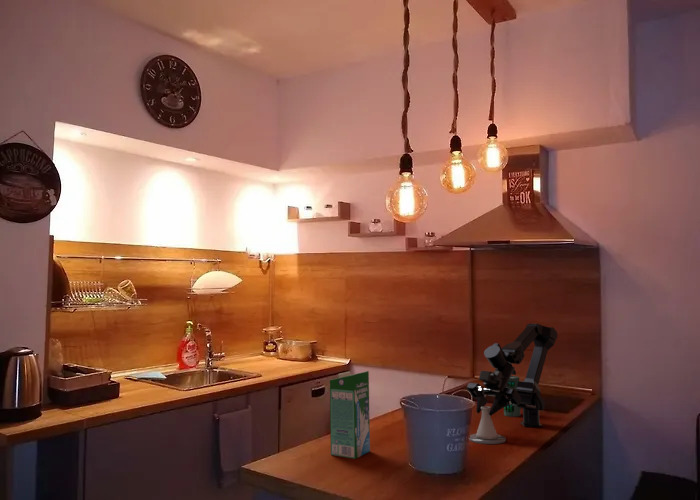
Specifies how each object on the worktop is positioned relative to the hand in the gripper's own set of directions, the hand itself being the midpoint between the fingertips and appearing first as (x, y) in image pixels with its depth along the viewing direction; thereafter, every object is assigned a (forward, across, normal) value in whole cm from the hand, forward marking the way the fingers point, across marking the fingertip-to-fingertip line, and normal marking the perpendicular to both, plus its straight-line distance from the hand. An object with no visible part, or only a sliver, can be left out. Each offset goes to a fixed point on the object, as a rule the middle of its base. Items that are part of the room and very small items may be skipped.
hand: (483, 413), depth 184 cm
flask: (+5, 0, +7) cm, 8 cm away
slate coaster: (+5, 0, +7) cm, 9 cm away
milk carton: (+36, -20, -23) cm, 47 cm away
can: (-22, -14, +34) cm, 43 cm away
